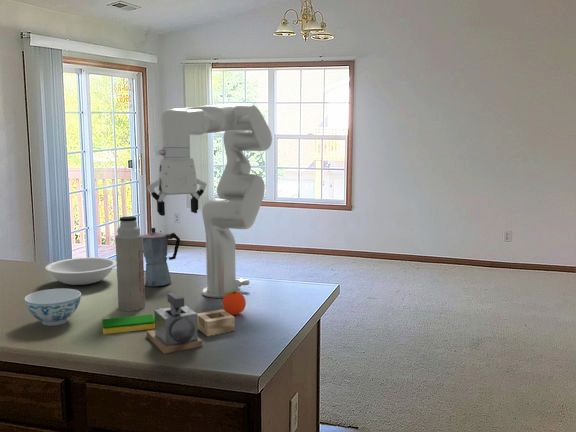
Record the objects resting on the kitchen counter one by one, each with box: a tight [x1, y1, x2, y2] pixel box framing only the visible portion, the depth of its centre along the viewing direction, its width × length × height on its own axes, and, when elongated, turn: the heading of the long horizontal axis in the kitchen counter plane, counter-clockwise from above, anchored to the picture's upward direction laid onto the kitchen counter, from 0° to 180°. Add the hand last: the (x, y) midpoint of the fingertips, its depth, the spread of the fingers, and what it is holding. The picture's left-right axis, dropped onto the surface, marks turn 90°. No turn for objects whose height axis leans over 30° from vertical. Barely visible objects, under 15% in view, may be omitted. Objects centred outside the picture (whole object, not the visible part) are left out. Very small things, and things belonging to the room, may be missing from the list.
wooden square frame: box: [197, 308, 236, 337], centre depth 168 cm, size 8×8×4 cm
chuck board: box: [146, 329, 203, 354], centre depth 159 cm, size 10×14×2 cm
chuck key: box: [166, 291, 185, 315], centre depth 157 cm, size 6×3×11 cm, turn 30°
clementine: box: [221, 291, 247, 316], centre depth 181 cm, size 8×7×7 cm
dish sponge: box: [101, 314, 155, 335], centre depth 170 cm, size 7×14×2 cm, turn 109°
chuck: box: [153, 304, 199, 346], centre depth 160 cm, size 19×8×7 cm, turn 30°
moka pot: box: [142, 227, 181, 288], centre depth 214 cm, size 10×15×20 cm, turn 95°
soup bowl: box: [44, 256, 117, 286], centre depth 217 cm, size 24×24×7 cm
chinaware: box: [24, 288, 82, 327], centre depth 174 cm, size 15×15×8 cm
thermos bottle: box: [115, 216, 146, 312], centre depth 187 cm, size 8×8×28 cm
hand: (178, 213), depth 175 cm, fingers open, 9 cm apart
